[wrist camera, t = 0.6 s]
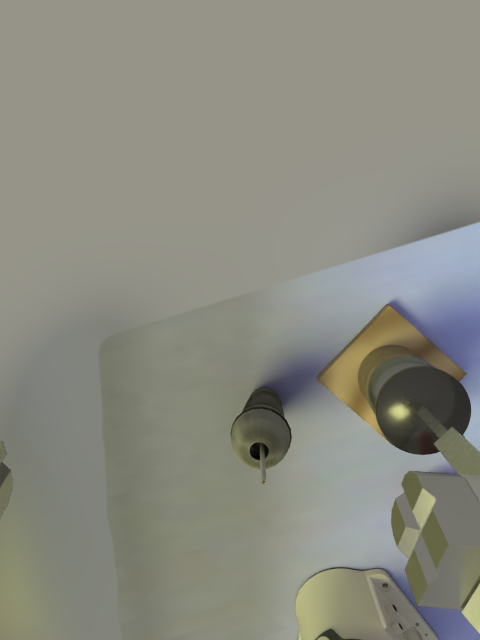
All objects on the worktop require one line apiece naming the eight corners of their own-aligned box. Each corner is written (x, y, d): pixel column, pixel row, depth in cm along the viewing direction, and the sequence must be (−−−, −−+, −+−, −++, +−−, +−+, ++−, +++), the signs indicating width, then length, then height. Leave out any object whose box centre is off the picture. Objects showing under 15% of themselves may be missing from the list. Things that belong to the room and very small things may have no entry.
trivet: (462, 370, 57) (467, 373, 56) (389, 440, 60) (392, 444, 58) (386, 304, 57) (389, 305, 55) (317, 376, 59) (318, 379, 58)
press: (456, 386, 56) (571, 472, 34) (405, 435, 58) (482, 547, 36) (390, 328, 56) (462, 375, 34) (340, 379, 57) (378, 456, 35)
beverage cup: (271, 369, 60) (267, 424, 40) (299, 409, 60) (308, 484, 40) (230, 395, 61) (206, 461, 41) (257, 434, 61) (247, 519, 42)
